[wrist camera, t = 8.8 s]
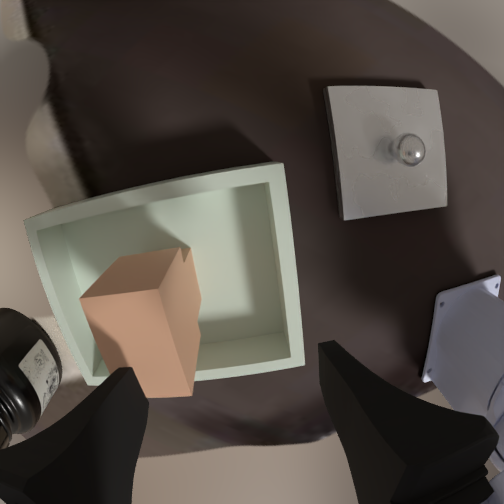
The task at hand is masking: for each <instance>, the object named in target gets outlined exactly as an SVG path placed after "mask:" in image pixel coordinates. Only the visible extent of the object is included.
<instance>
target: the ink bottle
mask: <svg viewBox="0 0 504 504" xmlns="http://www.w3.org/2000/svg"><path fill="white" fill-rule="evenodd" d="M61 378H62V365H61V360H60V357H59V355H58V352H57V350H56V348H55V347H54V345H53V343H52V342H51V341H50V339H49V338H48V337H47V335H46V334H45V333H44V332H43V331H42V330H41V329H40V328H39V327H38V326H37V325H36V324H35V323H34V322H33V321H31V320H30V319H29V318H28V317H26V316H25V315H23V314H21V313H20V312H17V311H16V310H13V309H10V308H0V450H1V449H4V448H7V447H8V446H9V442H10V441H11V439H12V434H24V433H27V432H29V431H31V430H32V429H33V428H34V427H35V425H36V423H37V422H38V420H39V418H40V416H41V415H42V413H43V411H44V410H45V408H46V406H47V404H48V403H49V401H50V399H51V398H52V396H53V394H54V393H55V391H56V389H57V387H58V386H59V384H60V382H61Z"/></svg>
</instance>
